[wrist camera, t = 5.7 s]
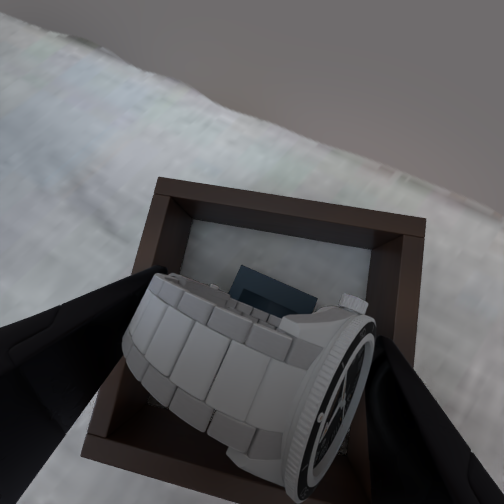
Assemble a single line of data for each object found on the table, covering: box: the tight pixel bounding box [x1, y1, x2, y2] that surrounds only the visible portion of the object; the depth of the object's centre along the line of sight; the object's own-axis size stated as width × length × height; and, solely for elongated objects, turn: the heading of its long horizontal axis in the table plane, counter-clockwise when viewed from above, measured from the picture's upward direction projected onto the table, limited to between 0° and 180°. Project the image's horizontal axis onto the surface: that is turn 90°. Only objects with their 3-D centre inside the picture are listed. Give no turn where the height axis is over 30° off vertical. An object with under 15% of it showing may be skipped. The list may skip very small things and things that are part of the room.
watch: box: [122, 265, 376, 504], centre depth 10 cm, size 6×8×11 cm
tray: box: [81, 177, 426, 504], centre depth 14 cm, size 14×14×4 cm
